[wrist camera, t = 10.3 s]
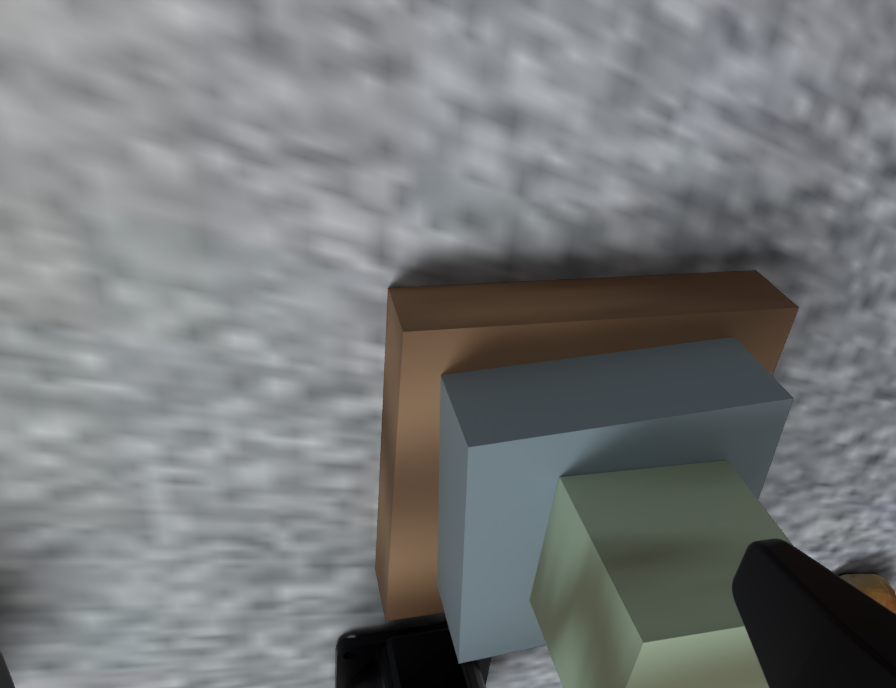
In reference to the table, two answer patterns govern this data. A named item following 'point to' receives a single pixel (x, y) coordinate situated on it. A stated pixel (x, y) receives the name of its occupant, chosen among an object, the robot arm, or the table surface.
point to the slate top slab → (576, 460)
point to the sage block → (649, 578)
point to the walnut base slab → (523, 342)
